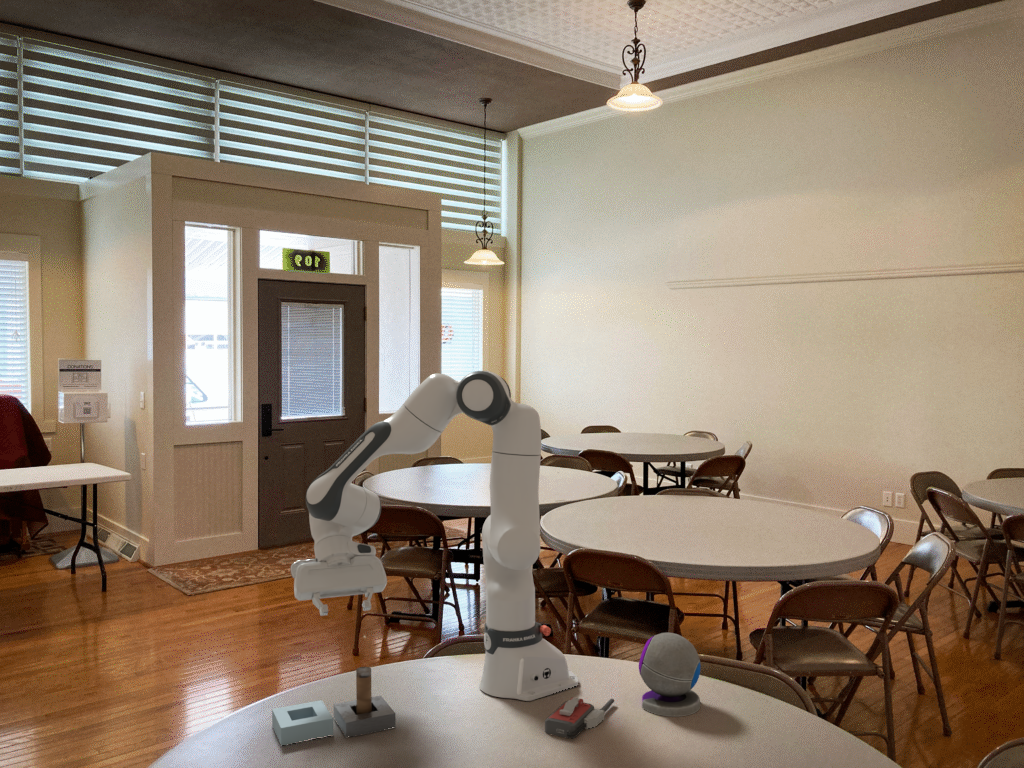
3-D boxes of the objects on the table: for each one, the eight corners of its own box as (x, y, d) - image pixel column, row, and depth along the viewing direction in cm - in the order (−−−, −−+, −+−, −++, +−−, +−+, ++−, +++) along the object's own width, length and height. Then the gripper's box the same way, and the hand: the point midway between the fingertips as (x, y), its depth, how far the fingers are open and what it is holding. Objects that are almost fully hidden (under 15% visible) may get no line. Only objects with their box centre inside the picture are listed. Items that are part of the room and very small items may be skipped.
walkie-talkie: (581, 745, 157) (617, 707, 174) (581, 722, 157) (617, 686, 174) (540, 736, 161) (579, 700, 178) (540, 714, 161) (579, 679, 178)
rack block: (321, 716, 170) (321, 700, 170) (333, 735, 161) (333, 718, 161) (272, 726, 166) (272, 708, 166) (281, 746, 157) (281, 728, 156)
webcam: (648, 688, 184) (648, 622, 183) (706, 698, 178) (706, 629, 178) (632, 710, 172) (631, 639, 172) (693, 721, 166) (692, 647, 166)
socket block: (381, 709, 173) (380, 695, 173) (395, 727, 164) (395, 713, 164) (333, 718, 169) (333, 704, 169) (346, 737, 160) (345, 722, 160)
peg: (369, 719, 169) (368, 665, 168) (373, 724, 166) (373, 670, 166) (355, 721, 167) (354, 668, 167) (358, 727, 165) (358, 673, 164)
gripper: (291, 553, 180) (299, 609, 171) (381, 545, 189) (394, 598, 180) (287, 569, 184) (295, 624, 175) (375, 561, 193) (387, 613, 184)
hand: (346, 611), depth 178 cm, fingers open, 8 cm apart
